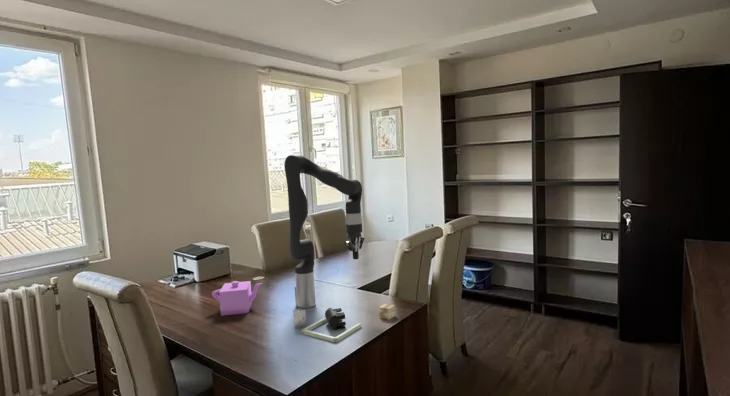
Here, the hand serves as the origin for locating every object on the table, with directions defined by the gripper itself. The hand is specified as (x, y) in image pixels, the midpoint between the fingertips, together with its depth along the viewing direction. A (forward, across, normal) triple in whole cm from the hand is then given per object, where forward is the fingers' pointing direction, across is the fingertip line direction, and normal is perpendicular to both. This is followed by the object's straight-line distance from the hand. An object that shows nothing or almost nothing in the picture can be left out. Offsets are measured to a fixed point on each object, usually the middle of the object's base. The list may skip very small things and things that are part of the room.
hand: (355, 259), depth 187 cm
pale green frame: (+25, +23, +3) cm, 34 cm away
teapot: (+25, +25, -56) cm, 66 cm away
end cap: (+25, +19, +2) cm, 32 cm away
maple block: (+25, 0, +16) cm, 30 cm away
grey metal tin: (+25, +27, -12) cm, 39 cm away
